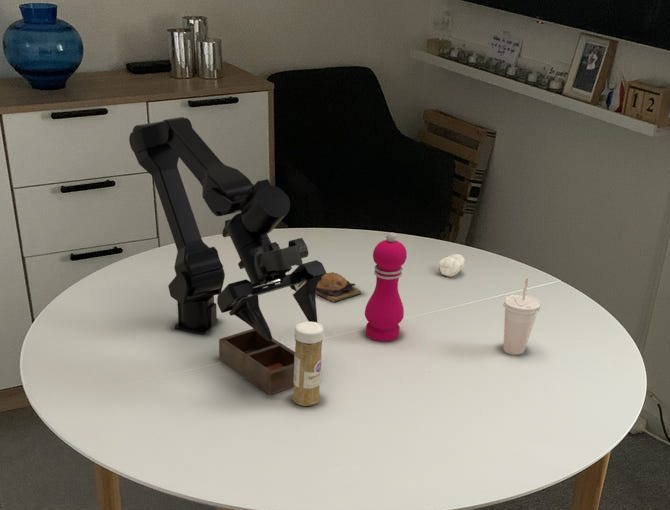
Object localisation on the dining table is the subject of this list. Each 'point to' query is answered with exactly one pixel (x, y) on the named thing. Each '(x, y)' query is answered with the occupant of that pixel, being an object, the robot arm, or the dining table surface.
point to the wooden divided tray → (259, 360)
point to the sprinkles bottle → (307, 363)
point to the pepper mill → (386, 291)
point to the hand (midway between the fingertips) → (293, 332)
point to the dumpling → (451, 265)
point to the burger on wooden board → (335, 287)
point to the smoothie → (519, 320)
